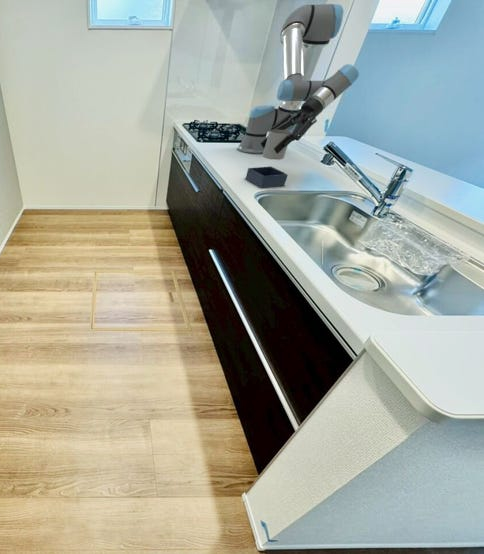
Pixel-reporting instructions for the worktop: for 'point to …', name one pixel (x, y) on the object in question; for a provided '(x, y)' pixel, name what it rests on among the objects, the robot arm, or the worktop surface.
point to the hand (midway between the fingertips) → (268, 148)
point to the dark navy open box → (266, 177)
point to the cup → (275, 144)
